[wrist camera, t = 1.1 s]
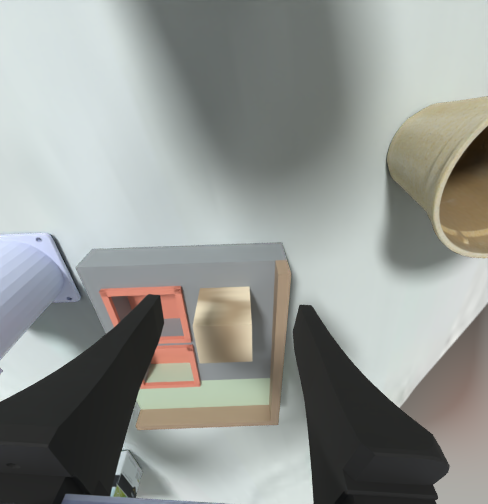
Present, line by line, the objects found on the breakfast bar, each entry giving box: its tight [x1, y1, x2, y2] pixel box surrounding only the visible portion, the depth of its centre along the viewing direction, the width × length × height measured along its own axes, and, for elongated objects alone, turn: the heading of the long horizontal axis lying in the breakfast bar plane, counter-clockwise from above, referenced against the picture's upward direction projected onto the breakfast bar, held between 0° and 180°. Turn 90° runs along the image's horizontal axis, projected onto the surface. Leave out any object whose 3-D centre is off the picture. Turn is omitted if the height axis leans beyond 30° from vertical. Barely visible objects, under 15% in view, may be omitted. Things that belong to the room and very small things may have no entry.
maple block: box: [193, 287, 252, 363], centre depth 22 cm, size 4×4×4 cm
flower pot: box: [387, 96, 488, 258], centre depth 17 cm, size 9×9×9 cm
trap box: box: [75, 243, 291, 430], centre depth 28 cm, size 18×24×5 cm
